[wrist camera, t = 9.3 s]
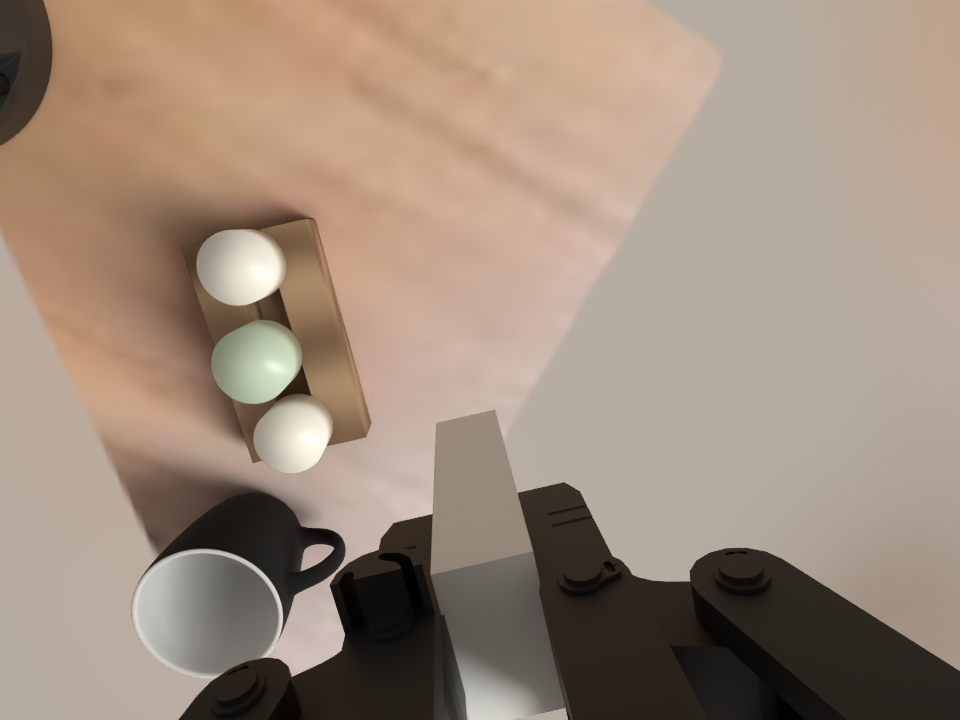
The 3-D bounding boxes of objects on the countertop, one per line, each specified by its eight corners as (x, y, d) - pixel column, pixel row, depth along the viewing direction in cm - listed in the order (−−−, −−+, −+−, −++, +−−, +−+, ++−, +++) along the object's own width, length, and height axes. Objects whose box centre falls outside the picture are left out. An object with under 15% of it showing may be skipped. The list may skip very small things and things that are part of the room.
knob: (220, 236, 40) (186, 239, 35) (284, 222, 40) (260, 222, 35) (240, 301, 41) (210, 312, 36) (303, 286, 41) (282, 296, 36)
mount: (199, 245, 41) (181, 246, 38) (315, 219, 41) (305, 219, 38) (265, 447, 44) (252, 462, 41) (371, 422, 44) (366, 437, 41)
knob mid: (233, 322, 39) (200, 338, 33) (299, 307, 39) (277, 320, 34) (253, 386, 40) (224, 411, 34) (318, 371, 40) (299, 394, 35)
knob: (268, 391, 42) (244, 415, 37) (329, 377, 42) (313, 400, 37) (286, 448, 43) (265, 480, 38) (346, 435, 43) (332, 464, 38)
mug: (215, 592, 47) (154, 691, 37) (183, 487, 45) (109, 563, 35) (367, 565, 47) (347, 657, 37) (343, 460, 45) (314, 527, 35)
